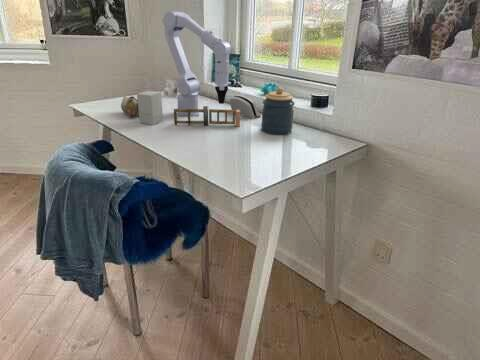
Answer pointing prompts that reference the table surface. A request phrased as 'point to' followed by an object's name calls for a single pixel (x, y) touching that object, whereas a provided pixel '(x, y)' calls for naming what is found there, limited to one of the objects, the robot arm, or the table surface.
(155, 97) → the supplement box
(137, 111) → the ceramic sculpture
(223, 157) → the table surface
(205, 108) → the hinge post
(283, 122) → the canister
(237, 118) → the post
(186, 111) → the fence
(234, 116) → the gate
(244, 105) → the grey arched piece
